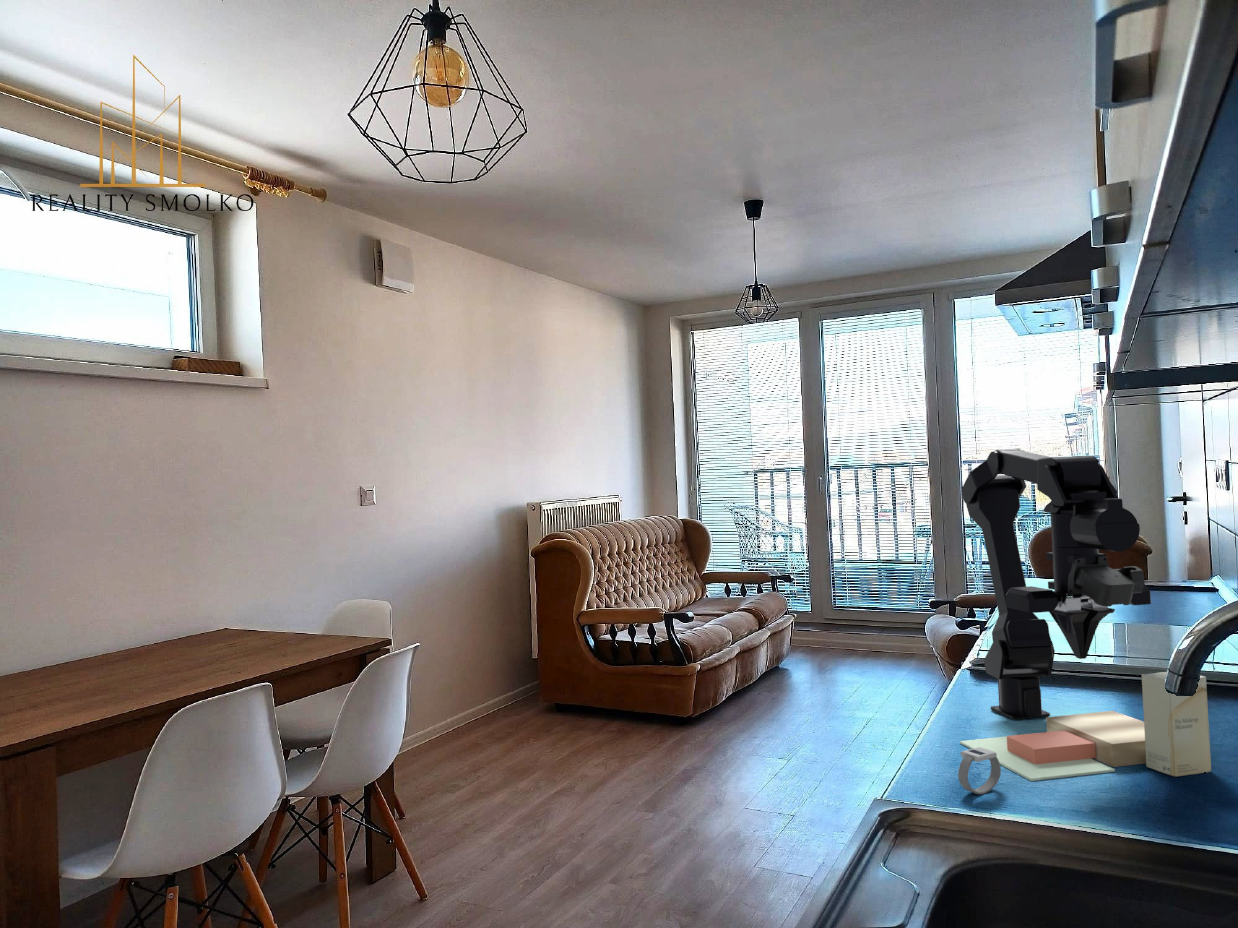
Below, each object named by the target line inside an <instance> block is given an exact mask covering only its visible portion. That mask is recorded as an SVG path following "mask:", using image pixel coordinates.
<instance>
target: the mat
mask: <svg viewBox="0 0 1238 928" xmlns="http://www.w3.org/2000/svg"><path fill="white" fill-rule="evenodd" d="M1007 736H1008V735H1005V736H999V737H998V736H997V737H996V736H995V737H988V738H987V737H986V738H979V739H969V740H968V739H967V740H959V744H960V745H962V746H965V747H966V748H968V749H969V750H970V749H974V748H977V747H981V748H985V749H988V750H991V751H994V752H996V754H997V758H998V761H999V763H1000V766H1002V767H1004V768H1006V769H1008V770H1009V771H1011V772H1014V773H1015V774H1017V775H1019V776H1021V777H1023V778H1024V779H1027V780H1028V781H1030V782H1034V781H1035V782H1036V781H1043V780H1052V779H1060V778H1061V779H1062V778H1069V777H1078V776H1086V775H1095V774H1104V773H1106V774H1107V773H1113V772H1114V773H1115V772H1116V769H1115V768H1114V767H1113V768H1112V766H1110V765H1107V764H1105V763H1103V762H1101V761H1098V760H1096V759H1094V758H1091V759H1081V760H1072V761H1062V762H1053V763H1043V764H1033V763H1031V762H1029V761H1027V760H1025V759H1023V758H1021V757H1019V756H1017V755H1016V754H1014V753H1012V752H1010V751H1008V750H1007Z"/></svg>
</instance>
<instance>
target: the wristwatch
mask: <svg viewBox="0 0 1238 928" xmlns="http://www.w3.org/2000/svg"><path fill="white" fill-rule="evenodd" d="M960 756H961V757H962V759H961V761H960V763H959V767H958V772H957V775H958V776H957V777H958V781H959V784H960V786H961V787H962V788H963V789H965V790H966V791H968V792H969V793H970V792H971V793H973V794H975V795H985V794H987V793H989V792H990V791H992V790H993V789H994V788H995V786H996V785H997V784H998V783H999V780H1000V777H1001V774H1002V773H1001V772H1002V770H1001V769H1002V768H1001V765H1000V763H999V761H998V758H997V754H996V752H994V751H991V750H988V749H985V748H981V747H977V748H974V749H970V748H969V749H967V750H962V751H961V752H960ZM987 760H989V763H990V773H989V776H988V778H987V780H986V781H985V782H984V783H983V784H982V785H981V786H980V787H977V788H975V789H974V788H972V786H971V785H970V782H969V771H970V767H971V766H972V763H973V762H977V763H979V762H984V761H987Z"/></svg>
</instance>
